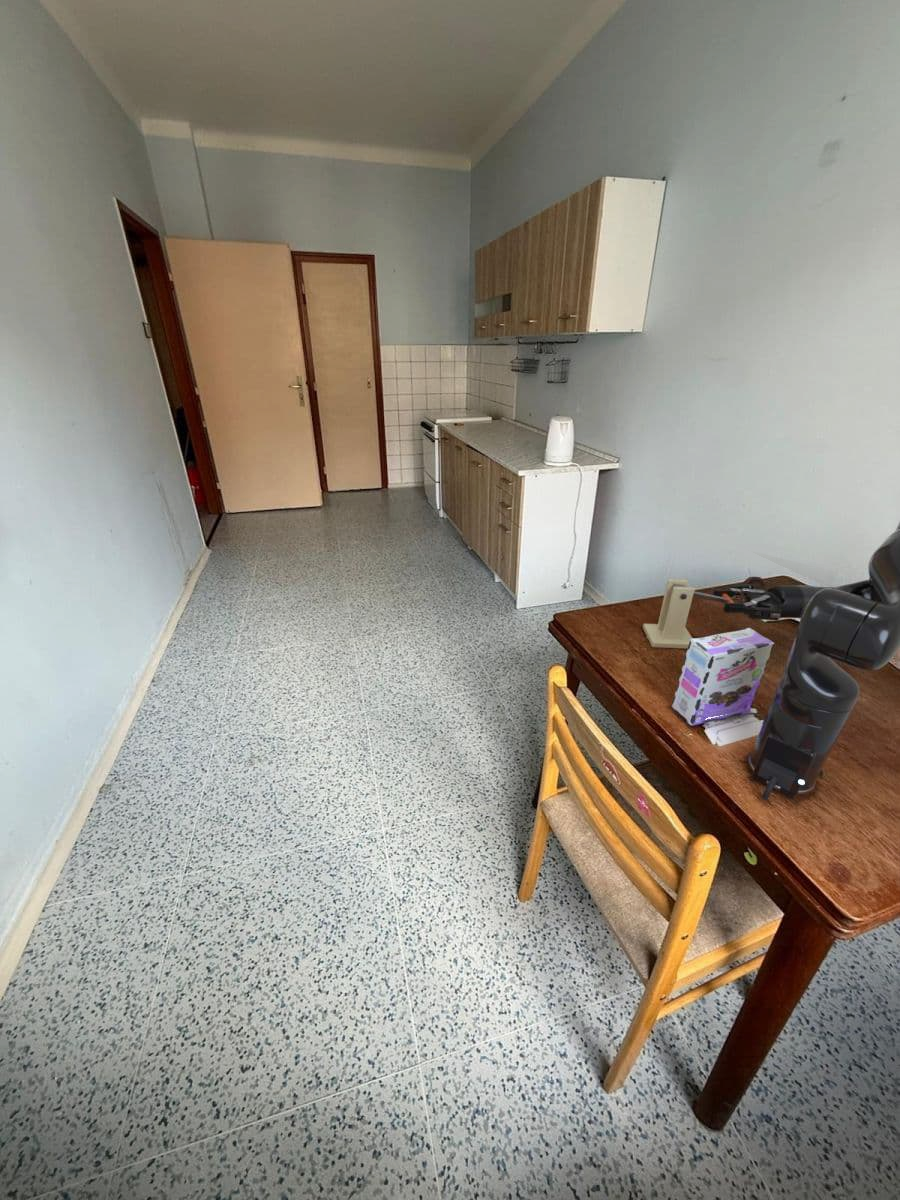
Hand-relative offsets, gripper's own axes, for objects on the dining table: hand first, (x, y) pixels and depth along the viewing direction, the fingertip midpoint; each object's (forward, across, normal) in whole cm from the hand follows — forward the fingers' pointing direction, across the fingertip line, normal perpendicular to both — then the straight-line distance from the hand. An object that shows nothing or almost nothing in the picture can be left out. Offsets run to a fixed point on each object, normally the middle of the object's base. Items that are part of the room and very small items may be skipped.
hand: (718, 600), depth 110 cm
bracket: (+9, 0, +10) cm, 14 cm away
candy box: (+9, +26, +11) cm, 30 cm away
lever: (+4, 0, 0) cm, 4 cm away
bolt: (-21, -19, +11) cm, 30 cm away
